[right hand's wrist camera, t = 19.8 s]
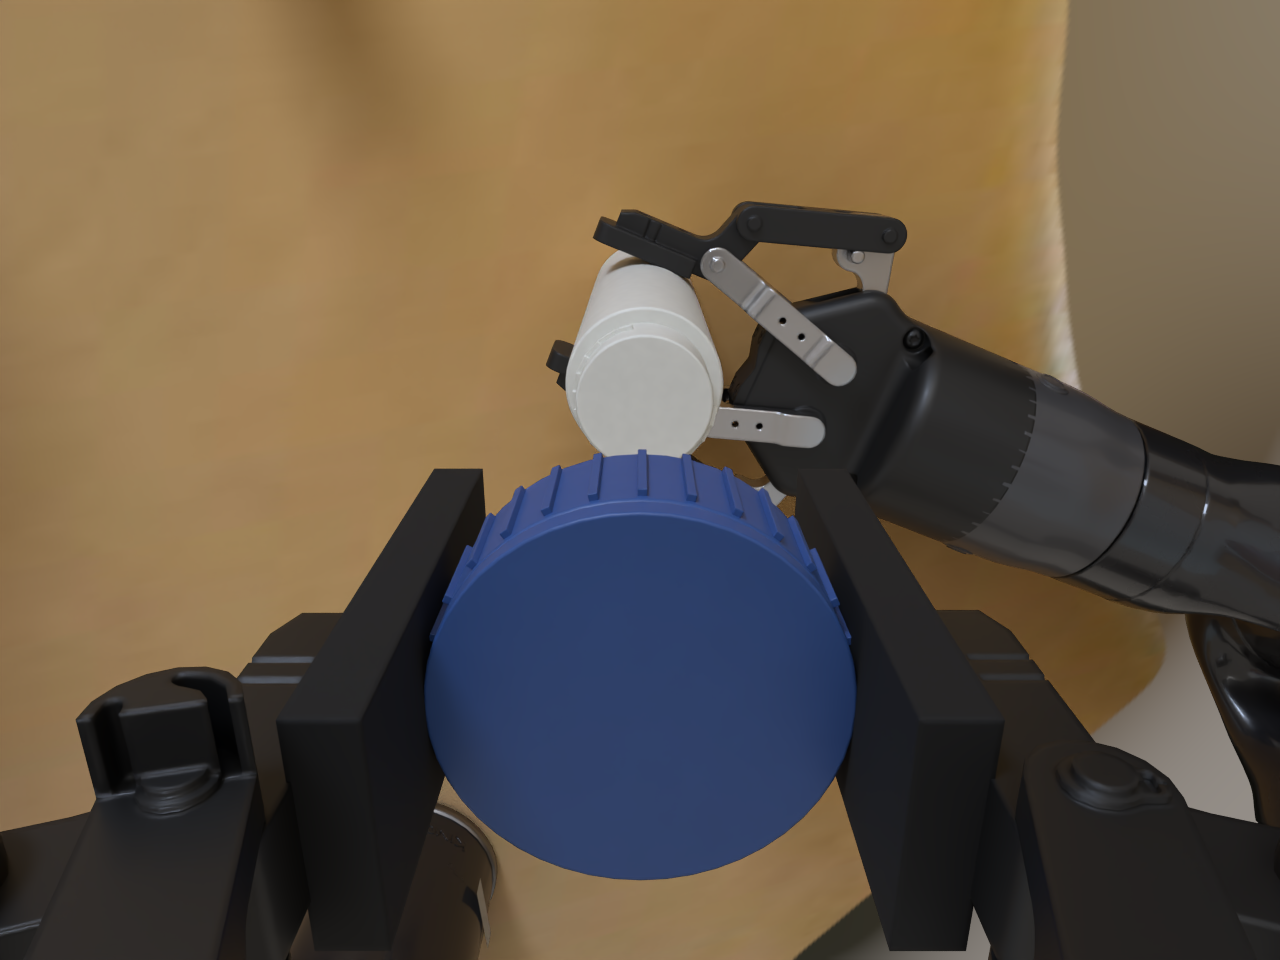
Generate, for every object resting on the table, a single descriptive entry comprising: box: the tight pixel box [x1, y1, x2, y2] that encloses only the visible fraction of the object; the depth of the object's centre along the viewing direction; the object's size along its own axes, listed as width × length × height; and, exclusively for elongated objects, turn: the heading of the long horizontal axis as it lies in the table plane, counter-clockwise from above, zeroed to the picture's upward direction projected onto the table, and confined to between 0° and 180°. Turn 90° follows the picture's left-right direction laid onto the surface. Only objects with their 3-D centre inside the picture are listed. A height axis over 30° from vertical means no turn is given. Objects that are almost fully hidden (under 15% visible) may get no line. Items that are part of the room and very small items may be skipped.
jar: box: [566, 250, 723, 458], centre depth 31 cm, size 4×4×18 cm
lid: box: [424, 449, 857, 880], centre depth 11 cm, size 5×5×2 cm
